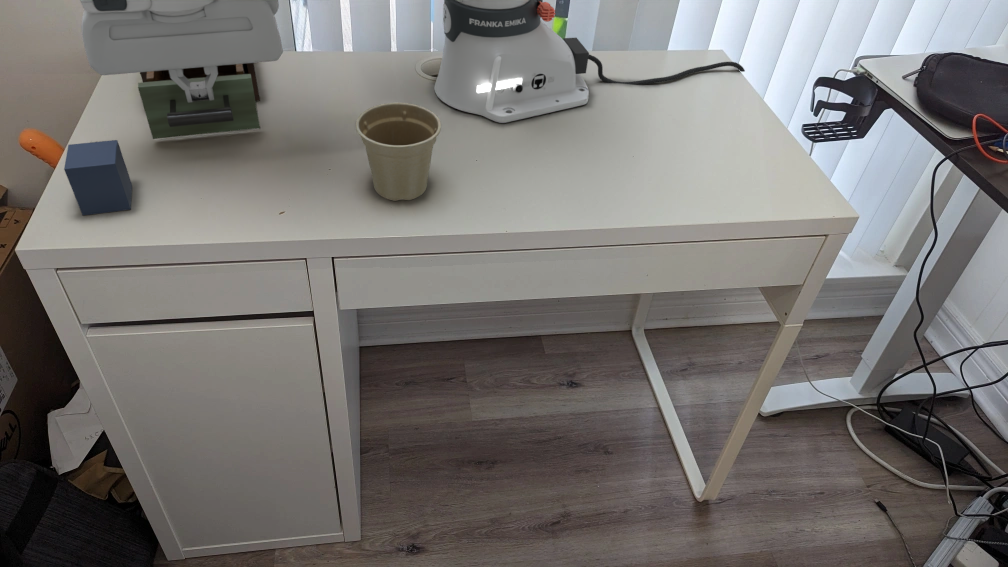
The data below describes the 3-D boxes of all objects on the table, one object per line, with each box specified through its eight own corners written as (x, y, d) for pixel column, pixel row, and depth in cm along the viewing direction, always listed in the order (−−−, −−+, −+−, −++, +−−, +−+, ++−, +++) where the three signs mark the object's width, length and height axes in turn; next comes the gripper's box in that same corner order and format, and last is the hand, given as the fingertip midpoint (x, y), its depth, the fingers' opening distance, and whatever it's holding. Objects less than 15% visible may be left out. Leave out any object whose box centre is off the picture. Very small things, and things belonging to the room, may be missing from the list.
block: (132, 185, 83) (117, 139, 79) (130, 209, 79) (115, 163, 75) (85, 190, 81) (68, 144, 77) (82, 215, 78) (63, 169, 74)
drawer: (263, 149, 88) (254, 98, 84) (152, 161, 85) (136, 108, 80) (251, 75, 102) (242, 28, 97) (154, 83, 98) (141, 34, 94)
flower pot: (427, 217, 82) (427, 152, 76) (348, 202, 83) (342, 137, 77) (448, 173, 89) (450, 110, 83) (375, 159, 90) (372, 96, 84)
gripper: (271, -37, 80) (289, 78, 90) (67, -27, 75) (109, 94, 84) (277, -15, 76) (294, 103, 86) (61, -3, 71) (105, 122, 80)
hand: (201, 99), depth 85 cm, fingers closed
